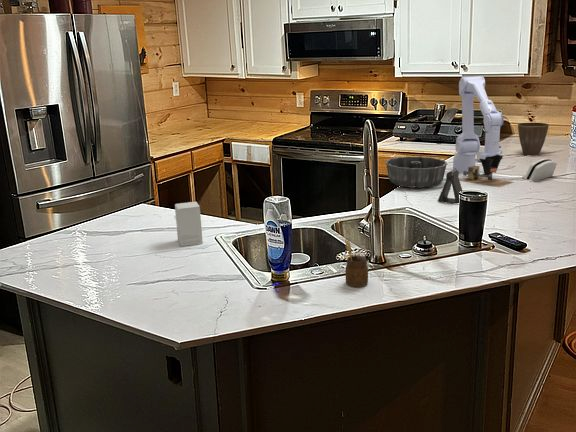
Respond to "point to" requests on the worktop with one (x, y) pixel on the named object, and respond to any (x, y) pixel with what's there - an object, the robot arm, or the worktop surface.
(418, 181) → the bundt pan
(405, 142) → the worktop surface
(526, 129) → the plant pot
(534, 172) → the grey rounded block
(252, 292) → the worktop surface
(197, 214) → the supplement box
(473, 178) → the wooden holder
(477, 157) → the saucepan
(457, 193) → the phone stand
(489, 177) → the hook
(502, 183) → the board
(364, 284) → the utensil holder
